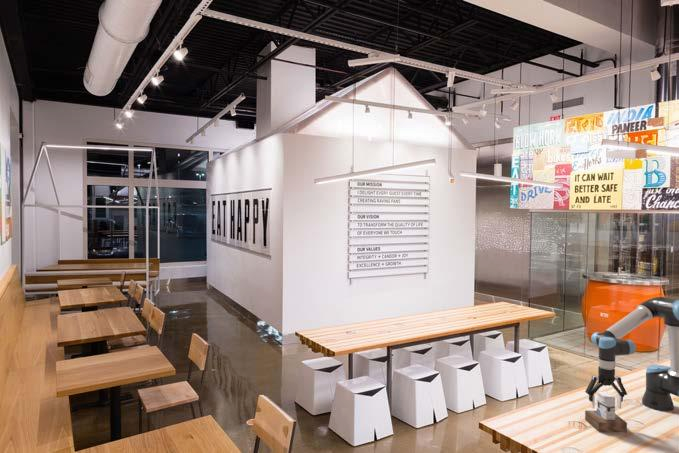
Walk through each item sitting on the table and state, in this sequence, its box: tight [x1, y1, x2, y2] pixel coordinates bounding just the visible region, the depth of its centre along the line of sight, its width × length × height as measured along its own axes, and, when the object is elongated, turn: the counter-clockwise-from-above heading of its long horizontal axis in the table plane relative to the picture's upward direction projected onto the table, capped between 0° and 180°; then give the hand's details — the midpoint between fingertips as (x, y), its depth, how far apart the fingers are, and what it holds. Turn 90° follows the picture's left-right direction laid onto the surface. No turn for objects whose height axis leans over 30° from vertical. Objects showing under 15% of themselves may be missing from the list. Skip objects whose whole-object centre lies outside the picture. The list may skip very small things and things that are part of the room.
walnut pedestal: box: [584, 410, 628, 433], centre depth 241 cm, size 14×14×5 cm
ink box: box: [596, 391, 616, 420], centre depth 241 cm, size 8×5×12 cm, turn 2°
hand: (605, 407), depth 241 cm, fingers open, 13 cm apart
